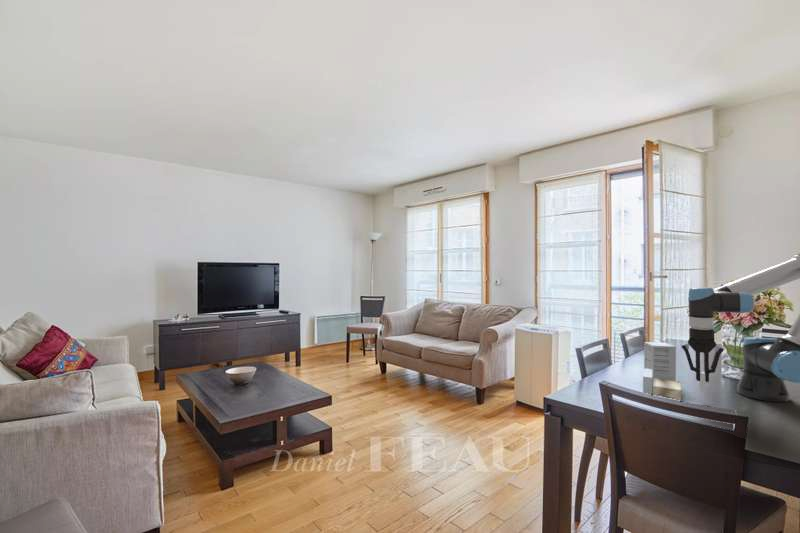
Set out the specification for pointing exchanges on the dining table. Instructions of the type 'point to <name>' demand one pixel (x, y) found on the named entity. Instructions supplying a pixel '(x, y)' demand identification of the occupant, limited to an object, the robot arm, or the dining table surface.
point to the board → (647, 380)
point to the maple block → (667, 388)
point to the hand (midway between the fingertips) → (702, 389)
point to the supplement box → (660, 360)
